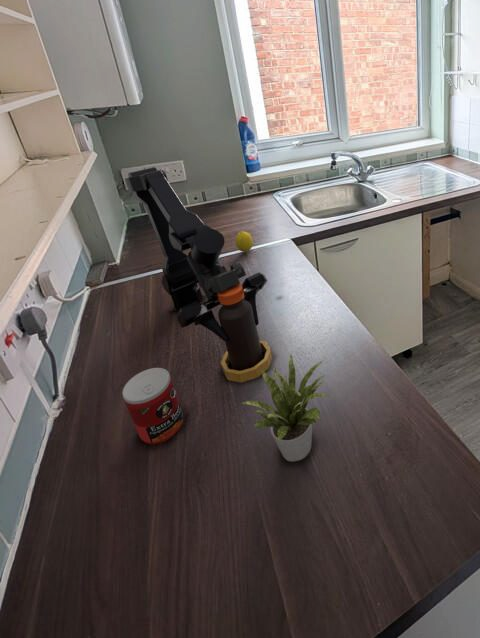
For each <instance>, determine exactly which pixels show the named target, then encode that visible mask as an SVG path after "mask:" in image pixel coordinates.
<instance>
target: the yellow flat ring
mask: <svg viewBox="0 0 480 638" xmlns="http://www.w3.org/2000/svg"><path fill="white" fill-rule="evenodd" d="M259 341H260V346H261V350H262V353H263V352H264V356H263V360H262V361H261V362H259V363H258V364H257V365H256V366H254V367H252V368H249V369H245V370H242V371H237V370H233V369H232V368H229V367H230V365H231V362H230V358H229V355H228V351H227V350H226V351H225V352H224V354H223V357H222V359H221V361H220V366H221V369H222V372H223V374H224V376H225V377H226V380H228V381H230V382H237V383H241V384H242V383H245V382H248V381H251V380H256V379H257V378H259V377H260V376H262V373H261V371H263V372H266V371H267V370H269V368H270V366H271V363H272V359H273V353H272V349H271V347H270V346H269V345H268V343H267V342H266V341H264V340H260V339H259Z"/></svg>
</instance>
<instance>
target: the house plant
mask: <svg viewBox="0 0 480 638" xmlns="http://www.w3.org/2000/svg"><path fill="white" fill-rule="evenodd" d="M324 361H325V360H321V361H319V362H317V363H316V364H314V365H313V366H311V368H310V369H309V370H307V372H306V374H305V375H304V376H303V378H302V380H301V381H300V383H299V387H298V391H297V393H296V383H297V382H296V367H295V365H294V358H293V355H292V353H290V354H289V359H288V377H287V375H284V378H283V376H281V374H280V373H279V372H278V371H277V368H276V367H275V369H273V368H271V369H272V372H273V377H271V376H270V375H269V374H268V373H267V372H266V371H265V372H263V371H261V373H262V374H261V376H262V379H264V382H265V384H266V386H267V388H268V389H269V393H270V395H271V399H272V403H273V405H274V407H275V408H276V409H275V408H273V407H272V406H270V405H269V404H267V403H265V402H263V401H260V400H246V401H244V402H240V404H241V405H249V406H254V407H256V408H258V409H255V408H254V409H253V410H254V411H255V412H256V413H258V414H259V415H260V416H261V417H262V418H263V419H260V420H259V421H257V422H256V423H255V424H254V425H253V427H256V428H270V434H271V435H272V438H273V441H275V443H276V446H277V447H278V449H279V451H280V453H281V455H282V457H283V459H285V460H286V461H288V462H290V463H291V462H298V461H301V460H303V459H305V458H306V457H307V456H308V455H309V453H310V452H311V449H312V444H313V443H312V442H313V441H312V440H313V425H316V426H318V423H317V421H316V420H317V419H318V420H321V412H320V410H319V408H317V407H312V408H307V407H308V406H307V405H308V404H309V401H311V400H314V399H316V398H330V396H329V395H327V394H324V393H319V392H316V391H317V389H318V388H319V387H320V386H321V385H322V384H323V383H324V382H325V381H324V380H323V381H321V382H319V381H320V380H321V379H323V378H324V377H325V375H322V376H319V377H318V378H316V379H315V380H314V381H313V382H312V383H311V384H310V385H307V383H308V381H309V379H310V378H311V377H312V375H313V373H314V372H315V370H316V369H317V368H318V367H319V366H321V364H322V363H323V362H324ZM276 377H277V378H278V380H279V382H280V384H279V383H277V381H276ZM259 408H260V409H262V410H260V409H259ZM263 410H264V411H266V412H268V413H269V414H267V413H266V412H264V411H263Z"/></svg>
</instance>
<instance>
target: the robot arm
mask: <svg viewBox="0 0 480 638" xmlns="http://www.w3.org/2000/svg"><path fill="white" fill-rule="evenodd" d="M127 176H128V177H125V178H124V183H125V186H126V187H127V190H128V191H129V192H130V193H132V196H133V198H134V199H135V200H137V201H138V202H140V203H141V204H142V205H144V207H145V210H146V212H147V215H148V217H149V221H150V223H151V225H152V228H153V230H154V233H155V236H156V238H157V241H158V243H159V246H160V248H161V251H162V255H163V256H164V257H163V262H162V265H161V270H162V273H163V274H162V278H161V286H162V287H163V290H164V291H165V292H166V293H167V294H168V295H169V296H170V297H171V300H172V304H173V306H172V308H171V312H178V314H177V322H178V324H179V326H180V327H181V329H183V328H186V327H188V326H190V325H192V324H194V326H195V327H196V326H199V325H200V326H202V327H204V328H205V329H208V330H209V331H211V332H212V333H213V334H215V335H216V336H217V337H219V338H220V340H222V341H223V342H224V343H225V342H227V341H228V338H227V336H226V334H225V332H224V331H223V329H222V328H221V325H220V322H218V320H217V319H216V317H215V314H214V313H213V310H212V309H215V308H217V307H218V306H221V304H220V301H219V298H218V294H217V293H221V292H223V291H225V290H226V289H227V288H229V287H231V286H236V285H238V284H241V280H240V279H241V278H243V277H245V276H246V274H247V273H246V270H245V267H244V266H243V264H242V263H241V262H240V261H238V262H235V263H233V264H231V265H229V269H230V270H229V269H227V268H226V267H225V265H223V264H222V263H221V261H220V259H219V257H220V256H221V253H222V250H223V248H224V245H225V237H224V235H223V234H222V233H221V232H220V231H218V230H217V229H215V228H213V227H211V226H209V225H208V224H207V222H204V221H203V220H202V219H201V218H200V217H199V216H198V214H196V213H194V212H191V211H189V210H188V209H187V208H186V206H185V205H184V204H183V202H182V200H181V199H180V198H179V196H178V195H177V193H176V192H175V190H174V189H173V187H172V186H171V184H170V182H169V179H168V176H167V174H166V171H165V169H157V167H155V166H153V167H148V168H143V169H139V170H136V171H135V170H134V171H130V172H128V174H127ZM187 250H190V251H189V253H188V254H187V253H185V251H187ZM267 282H268V279H267V278H266V275H265V274H263V273H262V272H260V271H258V272H256V273H255V274H252V275H250V276H248V277H245V279H244V281H243V283H242V284H241V285H242V288H243V292H244V300H246V301H248V302H250V304H251V306H252V310H253V314H254V319H255V323H256V326H258V325H259V317H258V309H257V300H256V299H257V298H256V297H257V294H258V293H259V291H261V290H262V289H264V287H265V286H266V284H267ZM201 289H202V291H203V293H204V294H205V296H206V298H207V300H206V301H205V302H202V300H203V299H204V295H203V294H202V291H201ZM201 302H202V303H201Z"/></svg>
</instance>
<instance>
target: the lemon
mask: <svg viewBox="0 0 480 638" xmlns="http://www.w3.org/2000/svg"><path fill="white" fill-rule="evenodd" d="M253 241H254V240H253V237H252V235H251V234H250V233H249V232H248V231H243V230H241V231H240V232H239V233H238V234H236V236H235V246H236V248H237V249H238V250H239V251H240V252H244V253H248V252H249V251H250V250H251V249H252V247H253V243H254V242H253Z"/></svg>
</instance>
